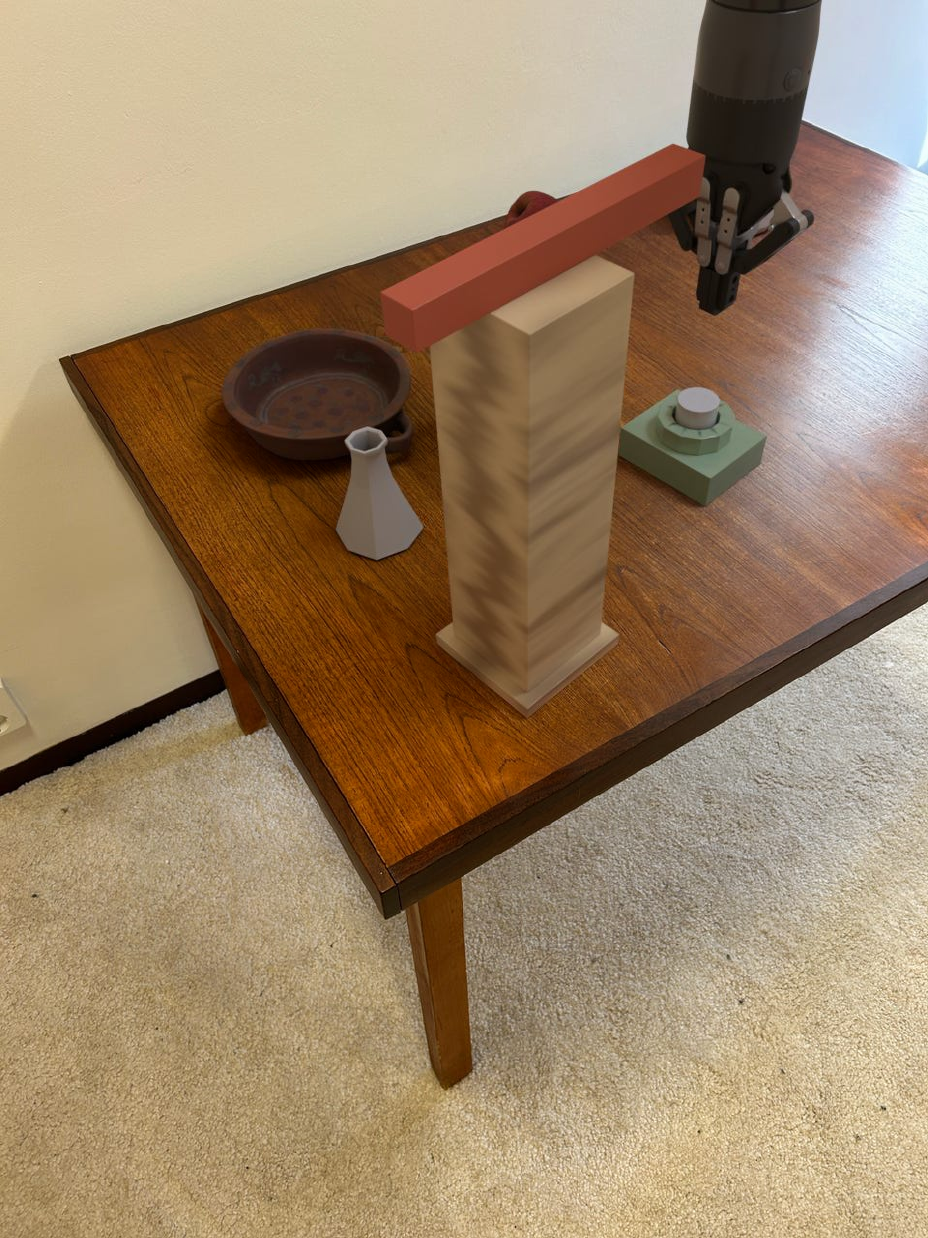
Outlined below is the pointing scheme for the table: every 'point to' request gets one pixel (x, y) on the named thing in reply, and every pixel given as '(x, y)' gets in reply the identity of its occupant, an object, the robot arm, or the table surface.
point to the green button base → (691, 450)
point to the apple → (528, 206)
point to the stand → (532, 479)
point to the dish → (320, 392)
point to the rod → (538, 248)
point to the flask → (374, 501)
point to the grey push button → (697, 408)
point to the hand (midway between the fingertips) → (713, 308)
